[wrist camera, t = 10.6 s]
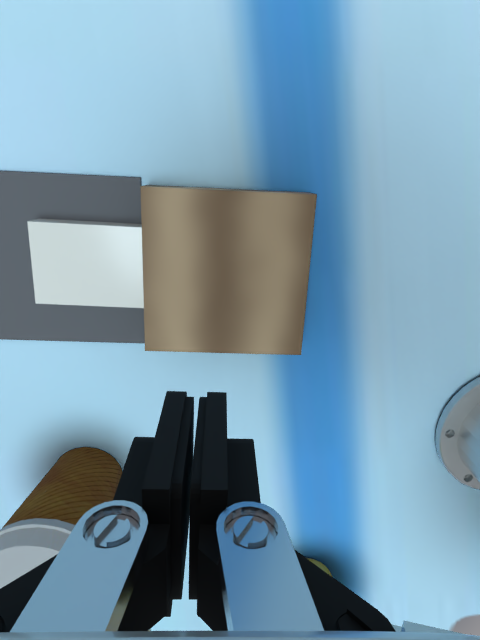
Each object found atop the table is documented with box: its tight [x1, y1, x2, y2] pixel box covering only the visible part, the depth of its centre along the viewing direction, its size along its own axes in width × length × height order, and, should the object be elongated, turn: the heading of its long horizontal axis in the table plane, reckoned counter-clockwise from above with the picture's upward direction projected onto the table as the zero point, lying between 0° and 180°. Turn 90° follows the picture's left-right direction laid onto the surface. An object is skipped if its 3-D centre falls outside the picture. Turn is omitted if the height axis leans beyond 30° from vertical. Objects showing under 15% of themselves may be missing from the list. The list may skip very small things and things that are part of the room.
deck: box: [141, 185, 317, 355], centre depth 33 cm, size 12×12×3 cm
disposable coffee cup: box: [0, 447, 122, 589], centre depth 34 cm, size 10×10×12 cm
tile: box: [27, 219, 144, 308], centre depth 32 cm, size 8×6×2 cm
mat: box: [0, 171, 145, 343], centre depth 33 cm, size 12×13×1 cm
